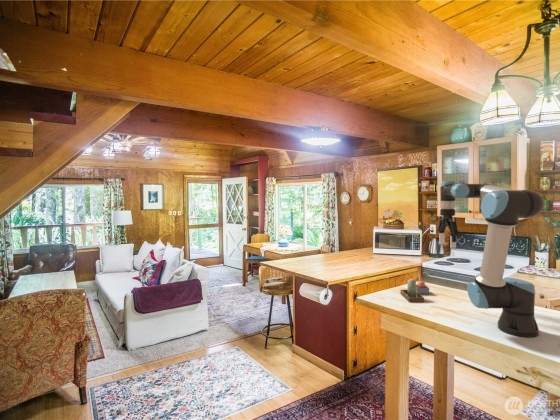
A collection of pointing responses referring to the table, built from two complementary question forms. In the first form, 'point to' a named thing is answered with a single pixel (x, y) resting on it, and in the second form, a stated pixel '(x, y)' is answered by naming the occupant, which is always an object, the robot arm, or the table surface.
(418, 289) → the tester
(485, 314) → the table surface
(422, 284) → the coral capsule
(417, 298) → the wooden tray
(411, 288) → the cell
